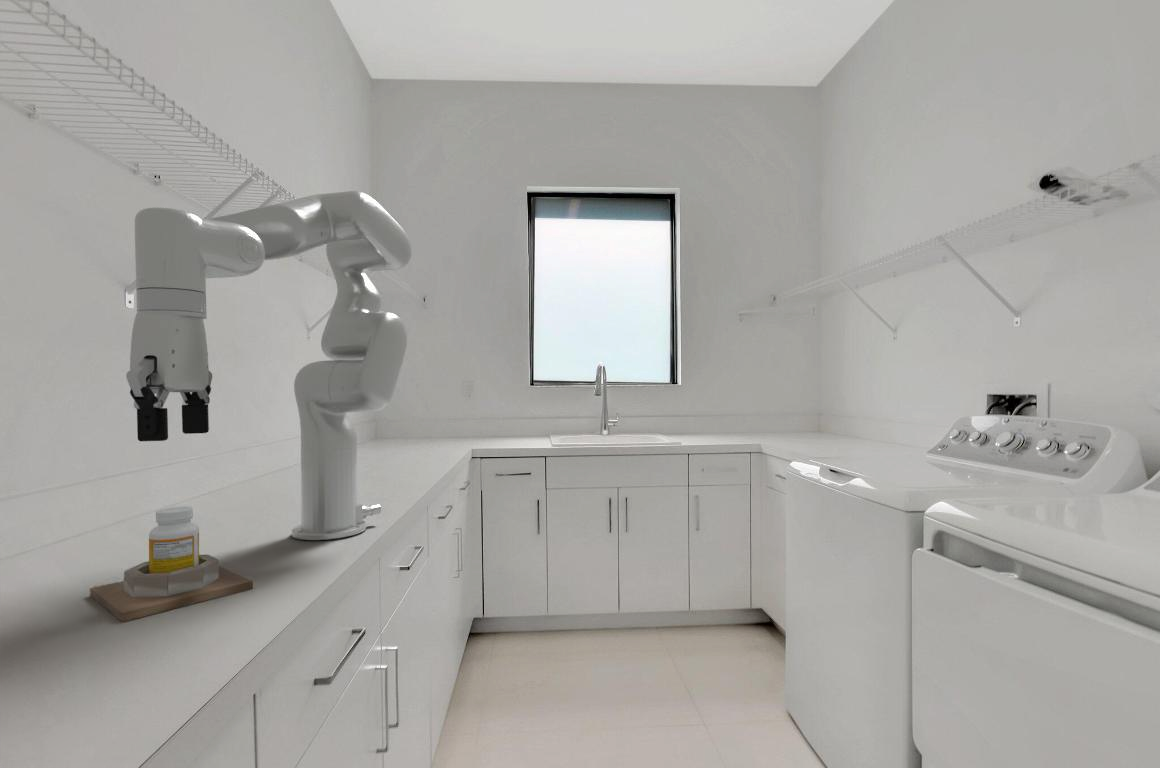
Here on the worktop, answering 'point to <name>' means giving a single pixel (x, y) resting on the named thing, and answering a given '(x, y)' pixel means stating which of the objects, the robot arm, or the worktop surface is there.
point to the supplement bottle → (173, 541)
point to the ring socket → (167, 588)
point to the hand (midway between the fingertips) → (175, 436)
